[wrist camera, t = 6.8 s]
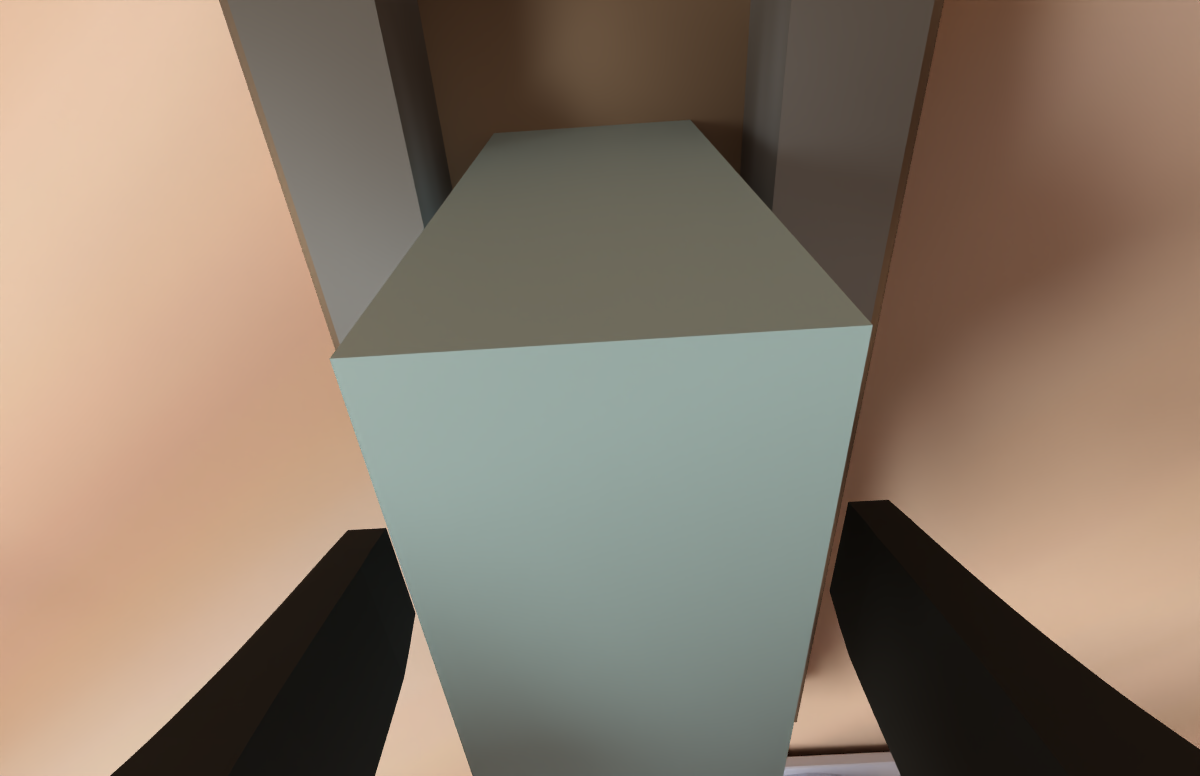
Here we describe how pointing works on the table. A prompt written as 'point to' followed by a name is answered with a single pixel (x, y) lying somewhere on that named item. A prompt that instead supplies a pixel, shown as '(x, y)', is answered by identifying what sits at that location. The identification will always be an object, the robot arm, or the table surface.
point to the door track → (585, 115)
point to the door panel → (610, 452)
